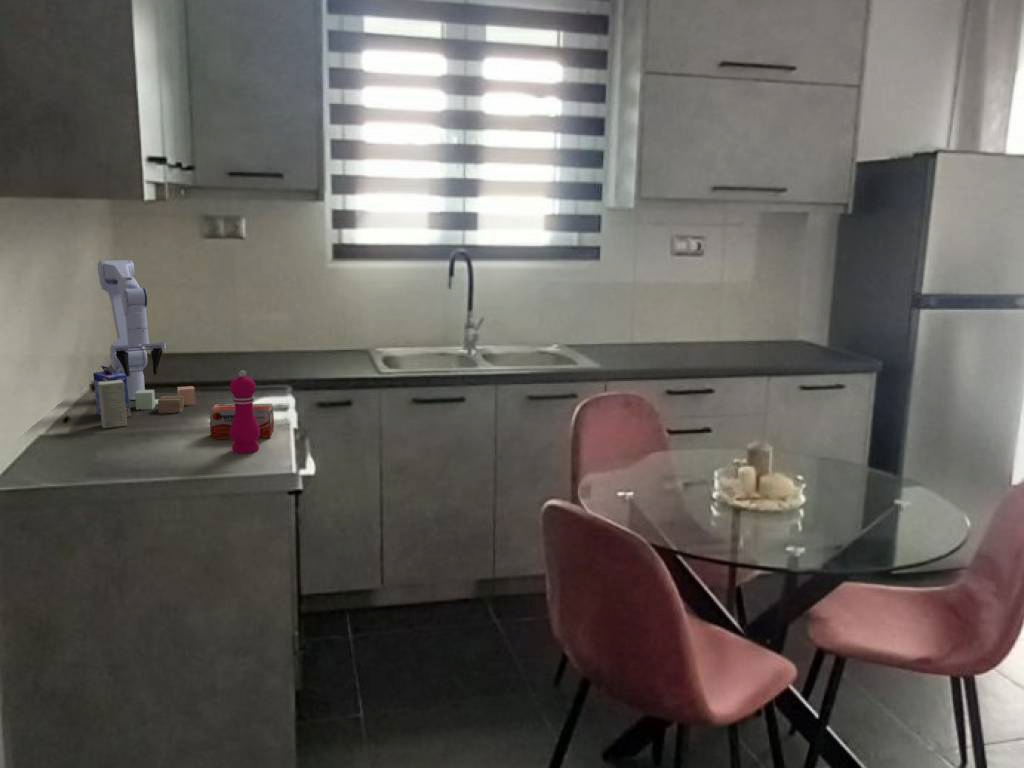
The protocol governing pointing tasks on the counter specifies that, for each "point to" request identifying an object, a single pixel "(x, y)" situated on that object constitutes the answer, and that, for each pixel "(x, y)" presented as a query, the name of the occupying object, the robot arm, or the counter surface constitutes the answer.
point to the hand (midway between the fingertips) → (141, 375)
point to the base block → (170, 404)
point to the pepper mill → (244, 415)
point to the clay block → (187, 394)
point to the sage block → (145, 399)
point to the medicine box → (225, 414)
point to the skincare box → (112, 403)
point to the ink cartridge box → (110, 376)
